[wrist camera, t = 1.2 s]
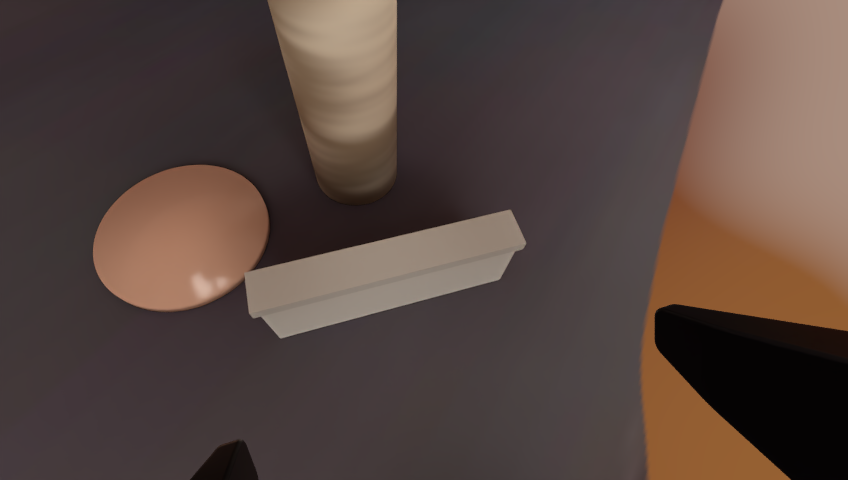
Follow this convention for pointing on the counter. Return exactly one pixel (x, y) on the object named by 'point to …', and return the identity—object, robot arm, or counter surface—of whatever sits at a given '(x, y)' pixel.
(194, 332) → the counter surface
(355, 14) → the ash post
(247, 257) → the terracotta coaster
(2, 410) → the counter surface
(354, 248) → the off-white long flat block
